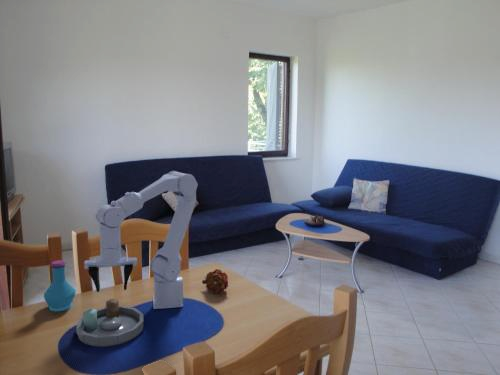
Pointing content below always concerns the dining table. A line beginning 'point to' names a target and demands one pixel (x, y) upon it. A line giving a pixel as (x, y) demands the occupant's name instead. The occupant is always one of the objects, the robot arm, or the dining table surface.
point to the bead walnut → (112, 308)
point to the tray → (112, 328)
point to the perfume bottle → (59, 289)
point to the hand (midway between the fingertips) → (111, 289)
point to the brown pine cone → (216, 281)
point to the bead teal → (90, 319)
